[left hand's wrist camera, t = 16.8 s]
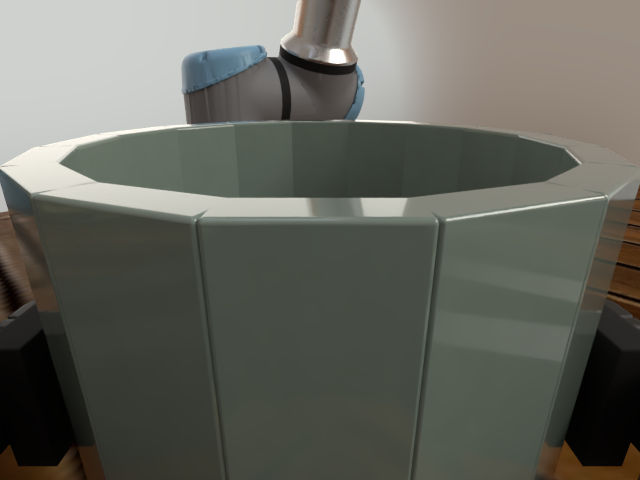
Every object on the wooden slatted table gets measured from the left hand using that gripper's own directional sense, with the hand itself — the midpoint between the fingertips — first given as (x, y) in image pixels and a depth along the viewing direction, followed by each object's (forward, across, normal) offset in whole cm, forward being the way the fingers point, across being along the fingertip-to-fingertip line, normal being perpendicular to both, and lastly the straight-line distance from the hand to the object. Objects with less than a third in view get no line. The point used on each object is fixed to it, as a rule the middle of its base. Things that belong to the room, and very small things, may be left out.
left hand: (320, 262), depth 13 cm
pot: (-4, 0, -6) cm, 8 cm away
